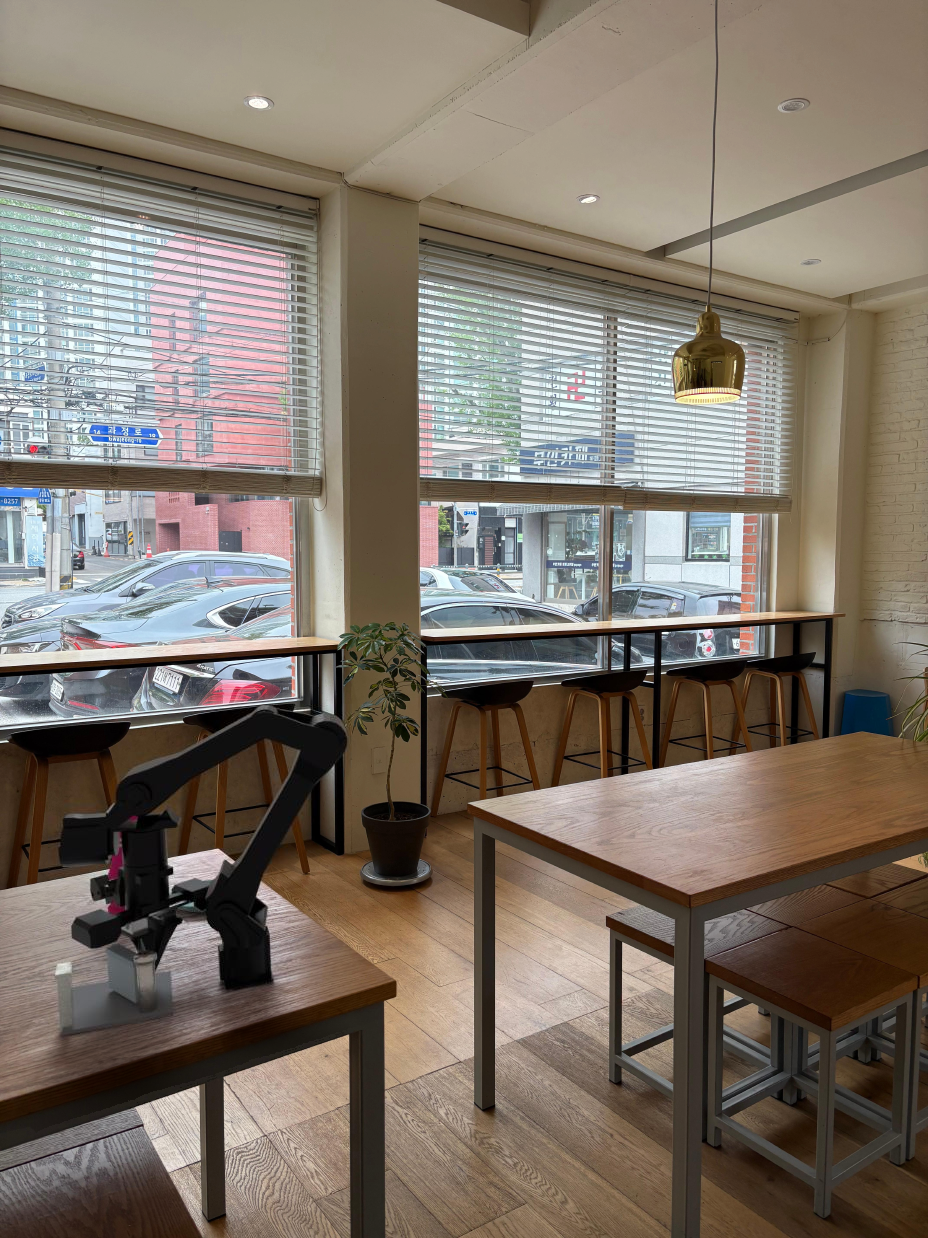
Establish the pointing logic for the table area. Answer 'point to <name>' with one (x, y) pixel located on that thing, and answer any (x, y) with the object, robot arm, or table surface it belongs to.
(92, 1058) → the table surface
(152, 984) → the hinge post
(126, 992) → the gate
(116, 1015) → the mat
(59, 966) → the latch post
